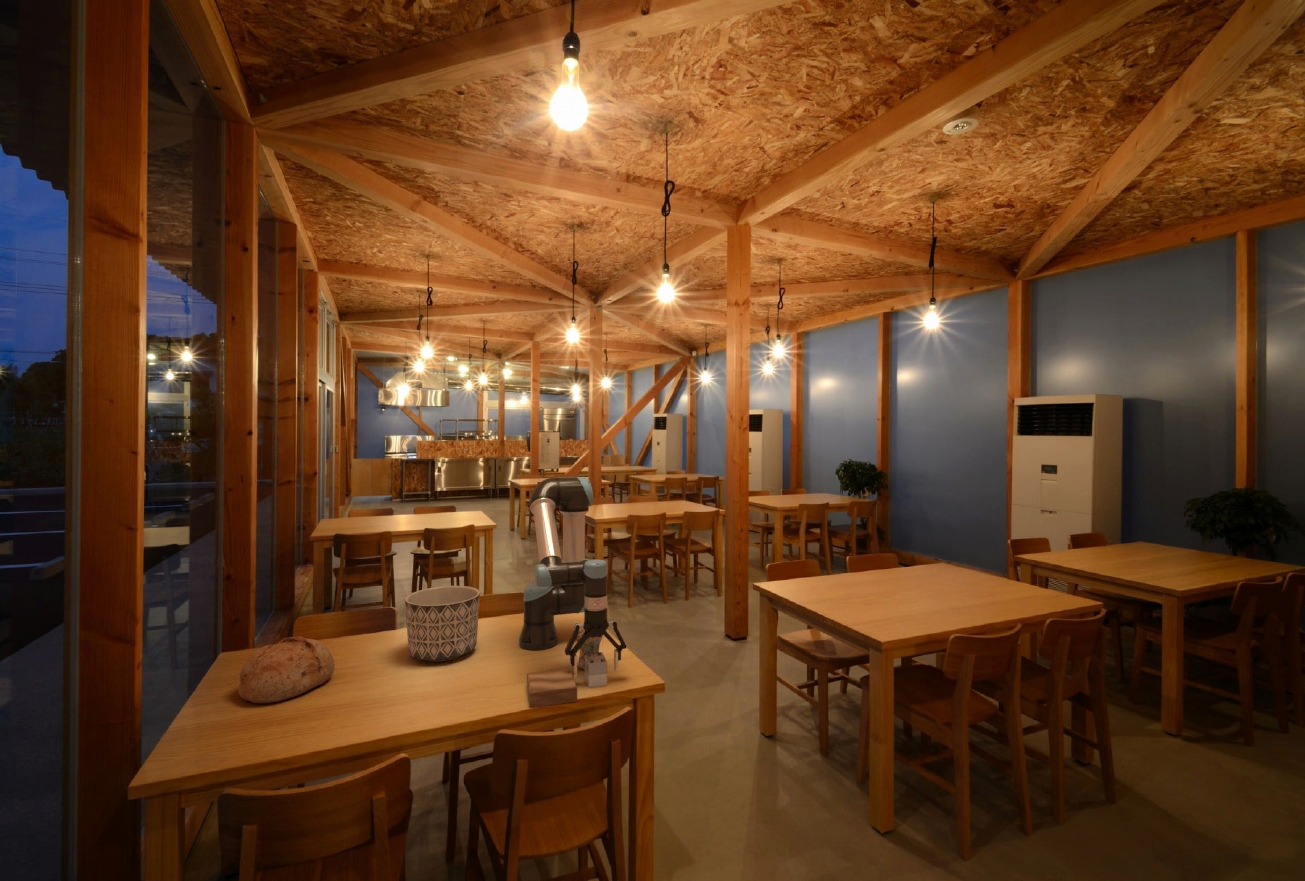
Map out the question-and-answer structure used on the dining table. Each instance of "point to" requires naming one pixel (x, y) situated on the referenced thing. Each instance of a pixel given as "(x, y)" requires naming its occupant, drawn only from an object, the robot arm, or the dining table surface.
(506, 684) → the dining table surface
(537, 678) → the stand
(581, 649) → the mug
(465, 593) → the planter
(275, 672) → the bread
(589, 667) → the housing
